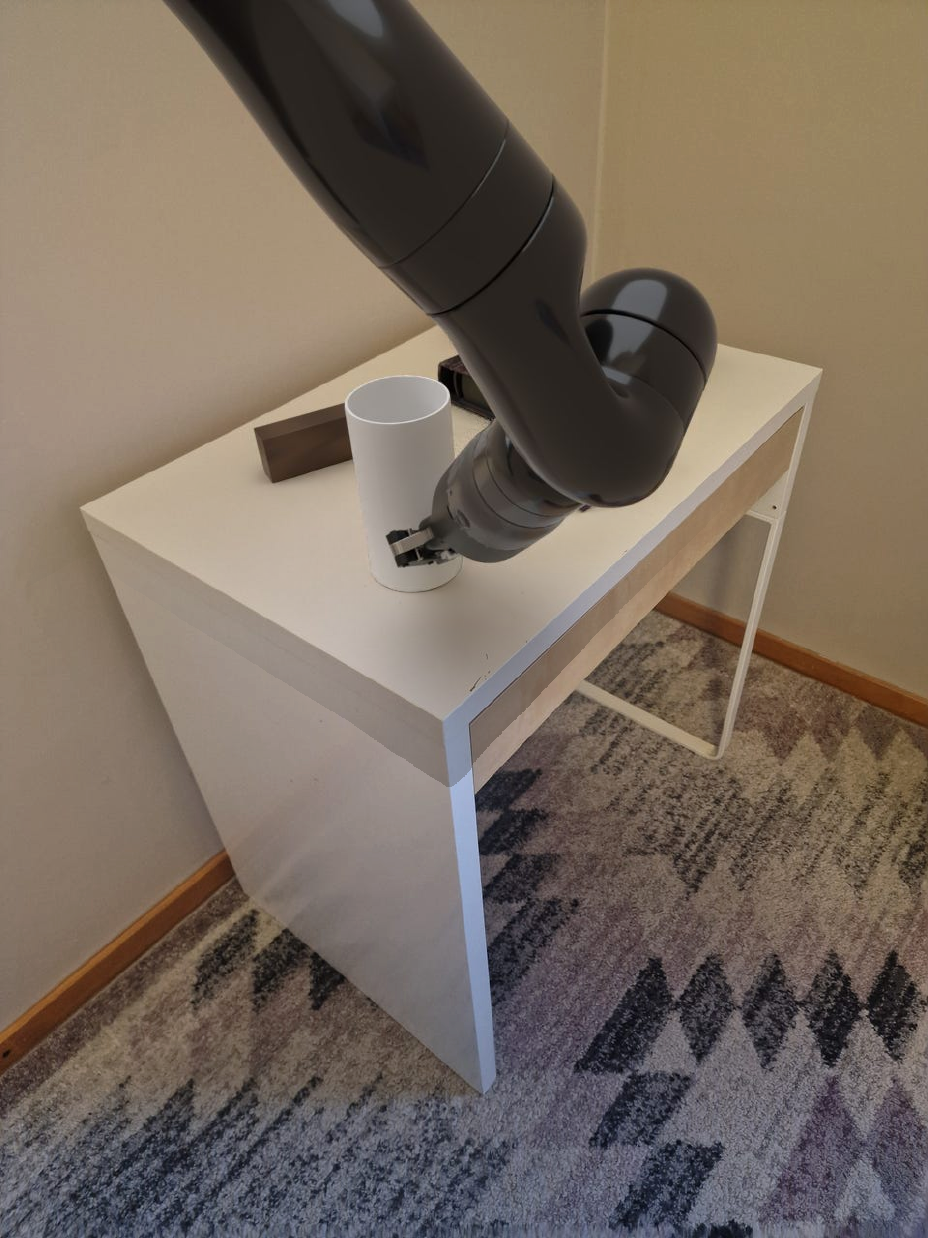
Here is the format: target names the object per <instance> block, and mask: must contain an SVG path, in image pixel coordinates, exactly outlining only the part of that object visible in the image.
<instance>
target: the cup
mask: <svg viewBox="0 0 928 1238" xmlns="http://www.w3.org/2000/svg"><path fill="white" fill-rule="evenodd" d="M344 403H345V412H346V418H347V425H348V431H349V437H350V443H351V450H352V456H353V459H352V461H353V468H354V474H355V480H356V486H357V492H358V498H359V504H360V505H359V506H360V511H361V517H362V524H363V529H364V536H365V542H366V548H367V554H368V560H369V567H370V572H371V575H372V576H373V578H374V579H375V580H376V581H377V582H378V583H379V584H380V585H382V586H384V587H385V588H388V589H391V590H394V591H398V592H405V593H417V592H418V593H419V592H425V591H429V590H433V589H436V588H439V587H441V586H443V585H446V584H447V583H448V582H450V581H452V580H453V579H454V578H455V577H456V576H457V575H458V573H459V572H460V570H461V569H462V565H463V556H462V555H461V556H459V557H456V558H455V559H453V560H450V561H448V562H445V563H442V564H439V565H438V564H437V563H436V561H434V563H433V564H431V565H428V564H426V565H419V566H410V567H405V568H403V567H400V568H398V567H397V564H396V562H395V559H394V557H393V555H392V552H391V550H390V547H389V544H388V541H387V539H386V535H387V534H389V532H391V531H393V530H396V531H397V530H406V529H408V528H412V530H419V524H420V522H421V521H422V520H423V519H425V518H427V517H428V516H430V515H431V514H432V504H433V497H434V492H435V489H436V486H437V484H438V482H439V480H440V478H441V477H442V475H443V474H444V473H445V471H446V470H447V469H448V468H449V466H450V465H451V464H452V463H453V461H454V460H455V459H456V455H455V453H456V452H455V442H454V441H455V439H454V427H453V414H452V402H451V399H450V394H449V391H448V389H447V388H446V386H444V385H443V384H442V383H440V382H438V380H436V379H433V378H430V377H426V376H421V375H413V374H412V375H411V374H408V375H407V374H406V375H405V374H401V375H391V376H385V377H380V378H376V379H373V380H370V381H367V382H365V383H362V384H361V385H359V386H357V387H355V388H354V389H353V390H352V391H350V392H349V394H347V396H346V398H345V401H344Z"/></svg>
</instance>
